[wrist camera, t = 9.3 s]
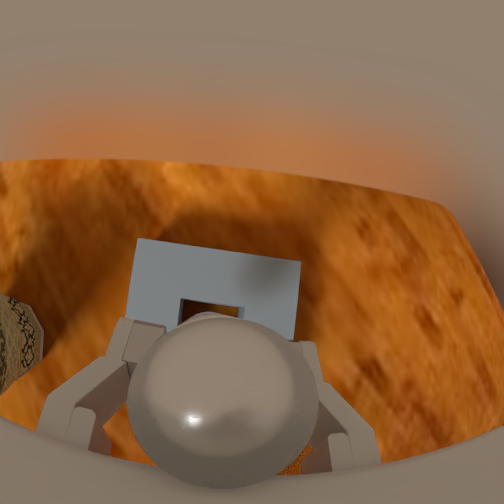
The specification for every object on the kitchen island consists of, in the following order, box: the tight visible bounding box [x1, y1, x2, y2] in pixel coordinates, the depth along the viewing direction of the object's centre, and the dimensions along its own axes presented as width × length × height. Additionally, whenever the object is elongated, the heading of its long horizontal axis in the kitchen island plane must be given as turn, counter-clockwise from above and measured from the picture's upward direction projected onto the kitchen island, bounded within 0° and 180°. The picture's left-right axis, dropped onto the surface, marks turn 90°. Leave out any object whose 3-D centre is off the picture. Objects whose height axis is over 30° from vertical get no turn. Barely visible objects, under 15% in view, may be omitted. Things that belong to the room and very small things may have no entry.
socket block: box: [125, 238, 301, 403], centre depth 22 cm, size 12×12×4 cm
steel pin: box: [127, 312, 319, 489], centre depth 10 cm, size 3×3×12 cm
